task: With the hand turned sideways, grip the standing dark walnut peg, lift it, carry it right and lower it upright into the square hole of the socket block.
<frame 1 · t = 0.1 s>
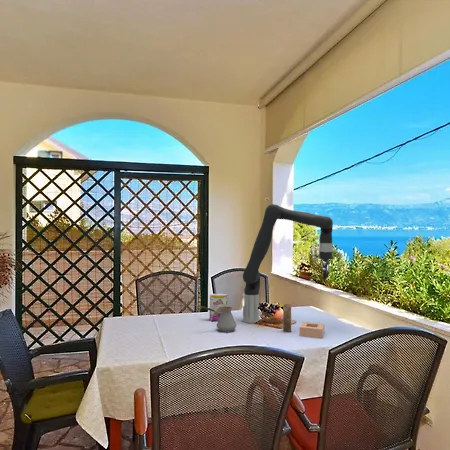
hand: (325, 278, 218), 29 cm above the table, tool pointing down, fingers open, 8 cm apart
walnut peg: (287, 331, 213), on the table
socket block: (312, 334, 207), on the table
candy bar box: (218, 320, 236), on the table
coffee pot: (218, 331, 214), on the table
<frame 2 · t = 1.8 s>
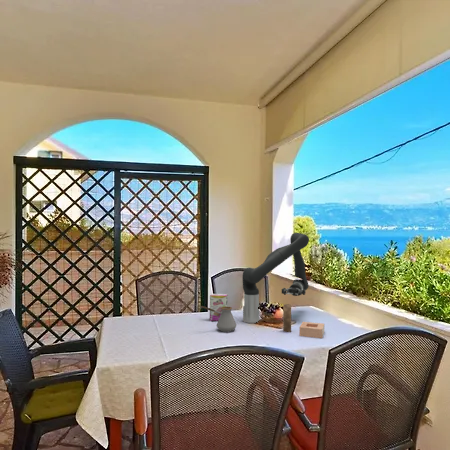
hand: (291, 293, 225), 19 cm above the table, tool horizontal, fingers open, 8 cm apart
nothing on the table moved.
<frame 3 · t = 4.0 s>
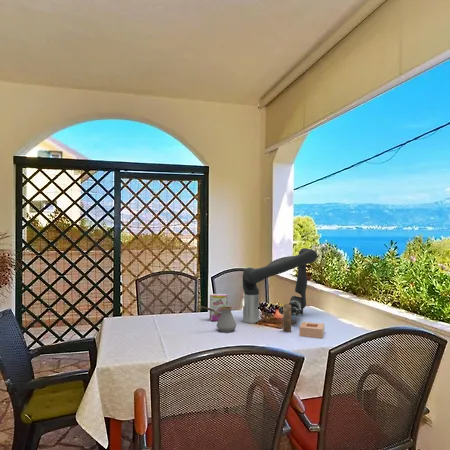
hand: (288, 313, 217), 9 cm above the table, tool horizontal, fingers open, 8 cm apart
nothing on the table moved.
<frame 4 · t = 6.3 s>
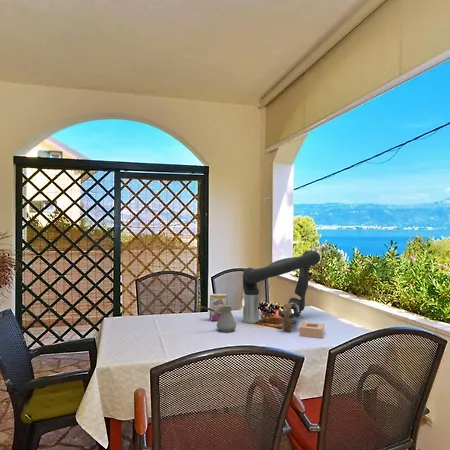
hand: (286, 316, 210), 9 cm above the table, tool horizontal, fingers closed on walnut peg, 4 cm apart
walnut peg: (287, 331, 213), on the table, touching gripper
everything else where it was.
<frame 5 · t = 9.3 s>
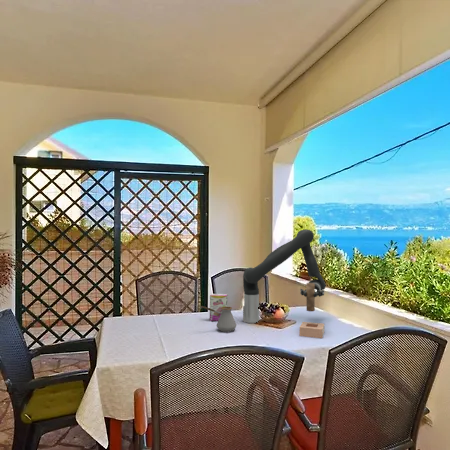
hand: (309, 295, 205), 22 cm above the table, tool horizontal, fingers closed on walnut peg, 4 cm apart
walnut peg: (310, 310, 208), point 13 cm above the table, touching gripper
everything else where it was.
when the fingers open (11 cm above the table, at t = 12.5 s): walnut peg drops 1 cm, resting on socket block.
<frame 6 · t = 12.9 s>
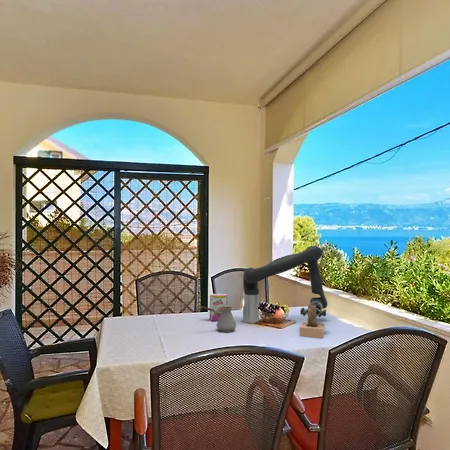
hand: (311, 315, 205), 11 cm above the table, tool horizontal, fingers open, 7 cm apart
walnut peg: (312, 332, 208), point 1 cm above the table, touching socket block
everything else where it was.
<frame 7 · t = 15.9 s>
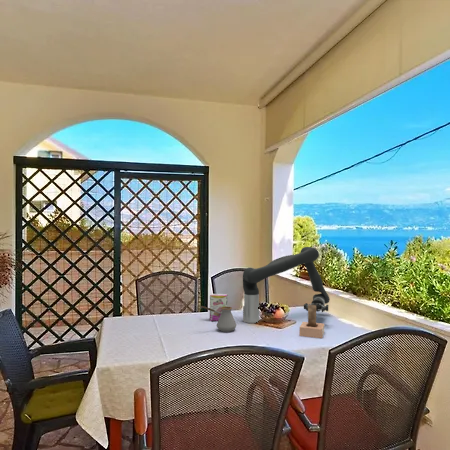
hand: (314, 309, 218), 11 cm above the table, tool horizontal, fingers open, 8 cm apart
nothing on the table moved.
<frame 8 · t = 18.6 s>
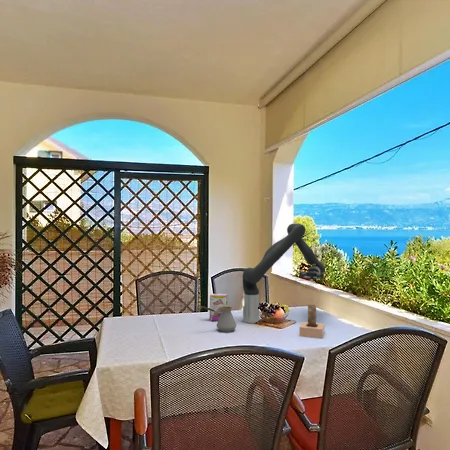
hand: (310, 276, 221), 30 cm above the table, tool horizontal, fingers open, 8 cm apart
nothing on the table moved.
at the end: walnut peg 0.1 cm off-centre on the socket block, point 0.8 cm above the socket block's base; walnut peg tilted 0°; the gripper is holding nothing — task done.
